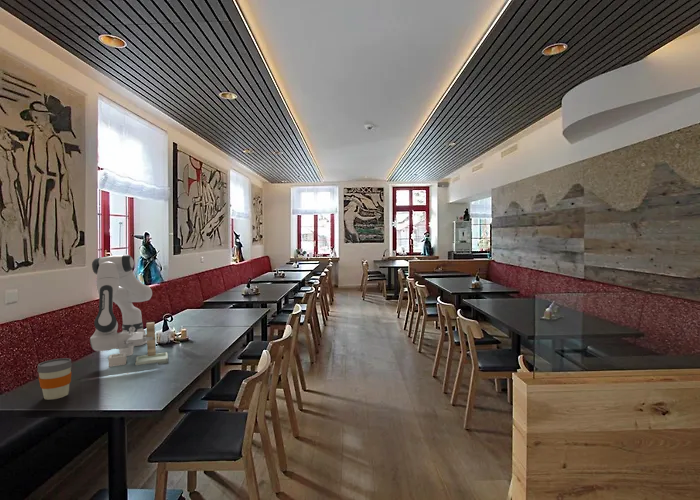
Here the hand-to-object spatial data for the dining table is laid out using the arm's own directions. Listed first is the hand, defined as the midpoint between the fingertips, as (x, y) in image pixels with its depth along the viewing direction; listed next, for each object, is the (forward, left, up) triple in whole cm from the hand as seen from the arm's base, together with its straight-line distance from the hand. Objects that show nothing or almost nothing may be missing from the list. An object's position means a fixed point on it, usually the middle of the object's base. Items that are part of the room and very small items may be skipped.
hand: (152, 337), depth 234 cm
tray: (0, -1, -14) cm, 14 cm away
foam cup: (-20, -15, -14) cm, 29 cm away
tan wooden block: (0, -1, -10) cm, 10 cm away
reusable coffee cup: (+36, -39, -14) cm, 55 cm away
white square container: (-2, -18, -14) cm, 23 cm away
